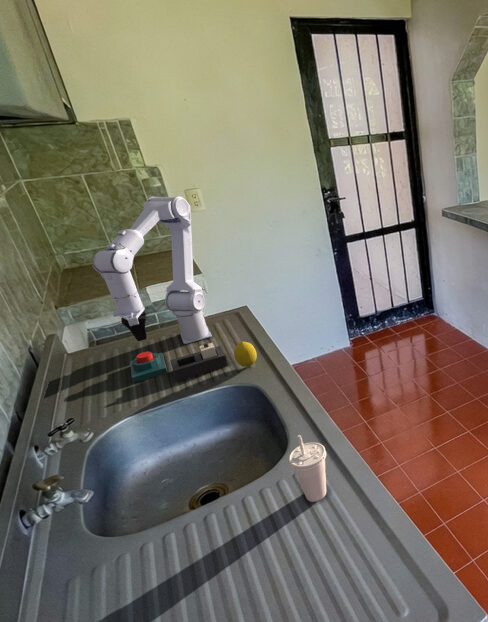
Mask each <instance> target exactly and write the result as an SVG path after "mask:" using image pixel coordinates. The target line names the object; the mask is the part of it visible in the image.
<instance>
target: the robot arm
mask: <svg viewBox="0 0 488 622" xmlns="http://www.w3.org/2000/svg"><path fill="white" fill-rule="evenodd" d="M142 205H143V210H142V211H141V212H140V214H139V215H138V216H137V218H136V219H135V221H134V222H133V224H132V225H131V227H130V228H129V229H128V228H125V229H122V230H118V232H117V235H116V236H115V238H113V240H112V241H111V242H110V243H108V244H107V246H106V247H105V249H102V250H100V251H97V252H96V254H95V255H94V256H93V258H92V263H93V264H92V268H93V269H94V270H95V271H96V272H97V273H99V274H100V277H101V278H102V279H103V280H104V281H105V284H106V286H107V289H108V291H109V294H110V296H111V298H112V301H113V304H114V306H115V308H116V311H113V312H112V316H113V317H114V318H115V317H119V318H121V319H120V322H121V324H122V325H123V326H124V327H126V328H127V329H128V330H129V331H130V332H131V334H132V336H133V337H134V338H135V339H136V341H137V342H142V341H146V340H147V339H148V337H147V330H146V322H147V313H146V310H145V309H146V308H145V306H144V304H143V301H142V300H141V296H140V294H139V292H138V289H137V286H136V282H135V280H134V278H133V275H132V272H131V269H132V268H133V265H134V264H133V263H134V258H135V255H136V254H137V253H138V252H139V250H140V249H141V248H142V247H143V245H144V244H145V239H144V237H145V236H146V235H147V234H148V233H149V232H150V231H151V230H152V228H153V227H155V226H156V225H157V224H158V223H160V224H162V225H164V226H166V227H167V228H168V229H169V230H170V233H171V234H170V238H171V239H170V240H171V241H170V242H171V262H172V282H171V283H170V284H169V285H168V286H167V287H166V295H165V297H164V305H165V307H166V309H167V310H168V311H170V312H172V314H173V315H175V317H176V320H177V324H178V326H179V330H180V333H179V334H180V337H181V340H182V343H183V345H188V344H191V343H196V342H199V341H201V340H206V339H210V338H212V337H213V336H212V333H211V331H210V330H209V327H208V326H207V322H206V319H205V317H204V313H203V309H204V308H205V305H206V298H205V296H204V293H203V287H202V286H201V285H199V284H197V282H195V281H194V259H193V235H192V208H191V207H192V206H191V205H190V203H189V202H188V201H187V200H186V199H185V198H184V197H183V196H177V195H176V196H150V197H148V198H147V200H146V201H145V202H144V203H142Z"/></svg>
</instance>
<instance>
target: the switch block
mask: <svg viewBox="0 0 488 622" xmlns="http://www.w3.org/2000/svg"><path fill="white" fill-rule="evenodd" d="M151 353H152V356H153V359H152V360H150V361H148V362H144V363H139V362H138V360H137V357H135V358H134V359H133V360H130V361H129V365H130V373H131V380H132V383H133V384H134V383H138V382H142V381H145V380H148V379H152V378H155V377H158V376H161V375H164V374H168V369H167V365H166V361H165V357H164V354H163V352H159V353H156V352H151Z"/></svg>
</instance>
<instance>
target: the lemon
mask: <svg viewBox="0 0 488 622" xmlns="http://www.w3.org/2000/svg"><path fill="white" fill-rule="evenodd" d="M233 354H234V359H235V362H236V363H237V364H238V365H239V366H241V367H246V368H250V367H251V366H252V365H254V364H255V363H256V360H257V357H258V355H257V350H256V348H255V347H254V345H253V344H252V343H250V342H247V341H240V343H238V344H237V345H236V346H235V348H234V351H233Z"/></svg>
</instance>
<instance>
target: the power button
mask: <svg viewBox="0 0 488 622" xmlns="http://www.w3.org/2000/svg"><path fill="white" fill-rule="evenodd" d="M152 353H153V352H152V351H142V352H140V353H138V354H137V355H136V356H135V358H137V360H138V362H139V363H144V362H148V361H150V360H152V359H153V356H152Z"/></svg>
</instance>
